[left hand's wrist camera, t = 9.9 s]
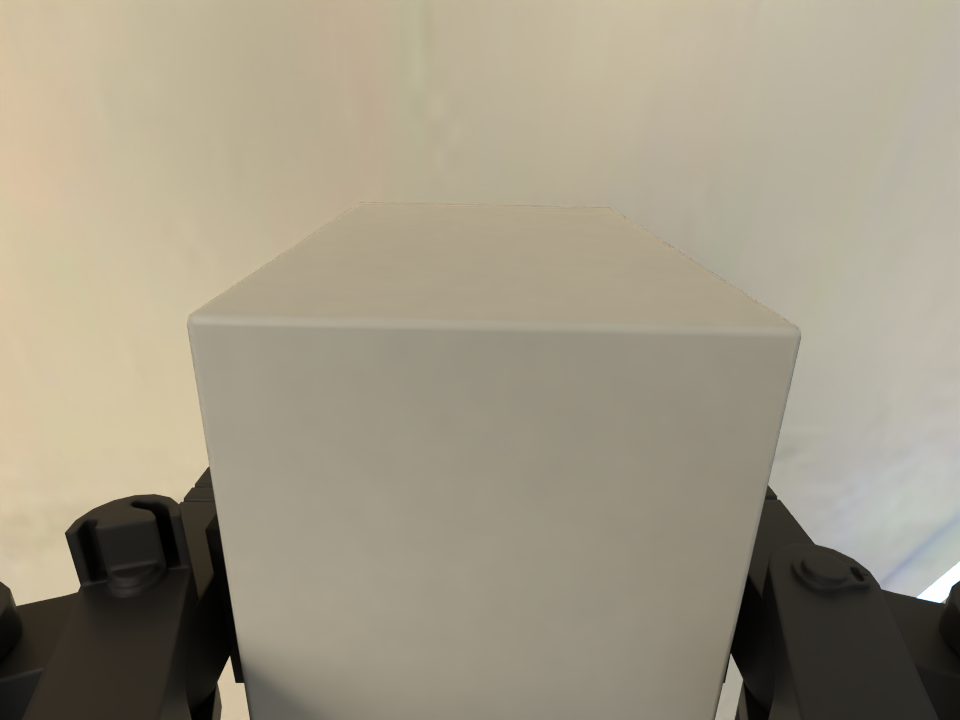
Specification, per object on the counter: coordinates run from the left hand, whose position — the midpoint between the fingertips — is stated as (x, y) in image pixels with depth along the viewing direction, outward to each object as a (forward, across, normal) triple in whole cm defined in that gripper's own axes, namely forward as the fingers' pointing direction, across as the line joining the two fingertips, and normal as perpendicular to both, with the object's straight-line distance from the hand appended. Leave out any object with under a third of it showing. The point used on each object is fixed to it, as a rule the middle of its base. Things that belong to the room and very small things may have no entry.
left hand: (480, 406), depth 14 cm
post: (+1, -1, -26) cm, 27 cm away
